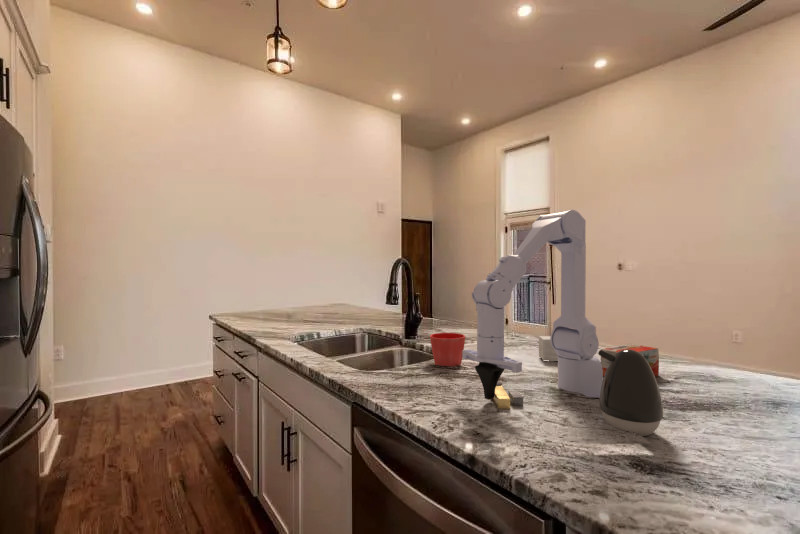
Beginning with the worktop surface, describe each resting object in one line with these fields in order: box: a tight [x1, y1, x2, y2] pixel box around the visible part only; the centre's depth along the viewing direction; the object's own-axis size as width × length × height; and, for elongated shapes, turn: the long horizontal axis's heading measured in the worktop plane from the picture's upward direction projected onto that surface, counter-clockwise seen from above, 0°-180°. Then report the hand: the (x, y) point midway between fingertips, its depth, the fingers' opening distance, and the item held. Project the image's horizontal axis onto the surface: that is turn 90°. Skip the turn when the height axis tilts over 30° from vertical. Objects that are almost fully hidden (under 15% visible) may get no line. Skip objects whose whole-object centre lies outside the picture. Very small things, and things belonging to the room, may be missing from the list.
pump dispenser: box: [597, 349, 664, 437], centre depth 71 cm, size 10×10×15 cm
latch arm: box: [492, 381, 511, 410], centre depth 84 cm, size 12×3×2 cm, turn 176°
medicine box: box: [600, 343, 660, 377], centre depth 106 cm, size 15×8×8 cm, turn 119°
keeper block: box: [507, 390, 524, 407], centre depth 81 cm, size 2×4×2 cm, turn 179°
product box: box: [538, 335, 558, 361], centre depth 125 cm, size 6×6×7 cm
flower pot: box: [429, 332, 466, 367], centre depth 116 cm, size 11×11×10 cm
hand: (489, 398), depth 82 cm, fingers closed, pressing on latch arm
